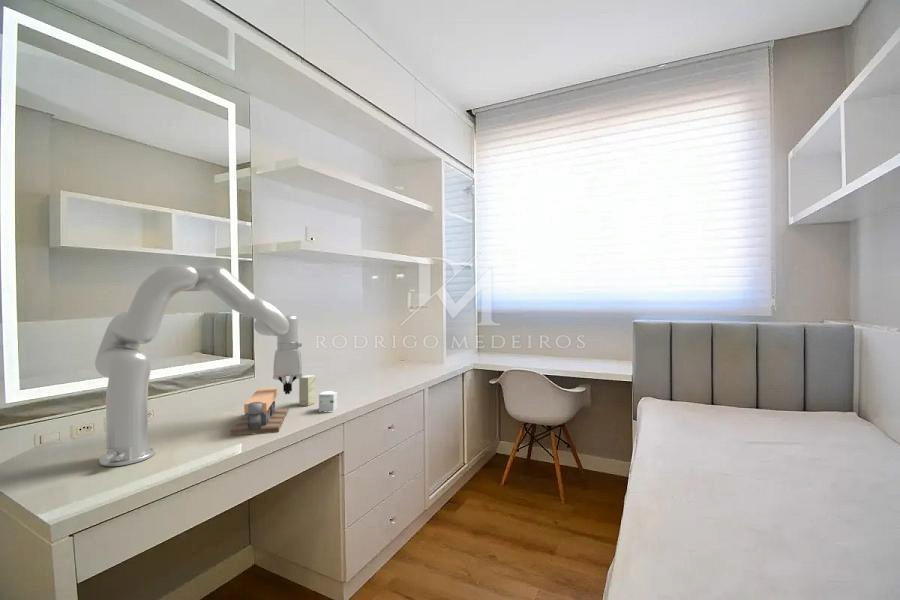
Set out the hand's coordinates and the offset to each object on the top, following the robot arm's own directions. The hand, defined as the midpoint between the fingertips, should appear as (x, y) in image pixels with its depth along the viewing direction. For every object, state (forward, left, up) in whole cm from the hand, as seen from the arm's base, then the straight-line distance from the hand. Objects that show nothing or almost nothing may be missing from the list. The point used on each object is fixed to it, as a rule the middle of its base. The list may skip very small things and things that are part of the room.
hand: (287, 393), depth 162 cm
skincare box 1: (+15, -6, -9) cm, 18 cm away
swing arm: (-9, +8, -2) cm, 12 cm away
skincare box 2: (+3, -15, -9) cm, 18 cm away
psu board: (-8, +8, -8) cm, 14 cm away
